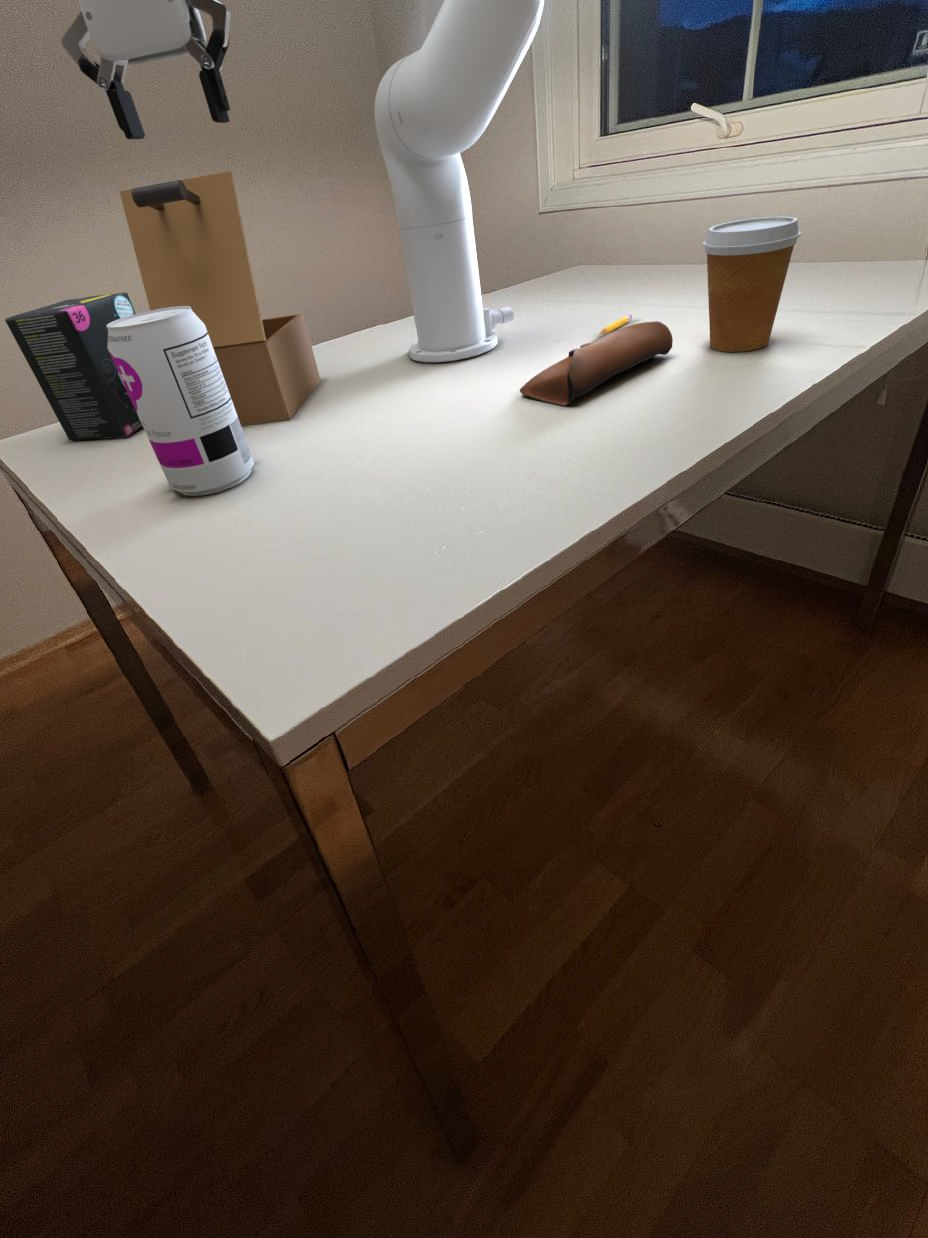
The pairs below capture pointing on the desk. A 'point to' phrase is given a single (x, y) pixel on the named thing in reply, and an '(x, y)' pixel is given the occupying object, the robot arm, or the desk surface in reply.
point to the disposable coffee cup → (747, 279)
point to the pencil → (616, 324)
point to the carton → (270, 371)
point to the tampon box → (79, 364)
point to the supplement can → (181, 399)
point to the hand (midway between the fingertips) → (178, 130)
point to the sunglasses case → (598, 362)
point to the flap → (196, 254)
